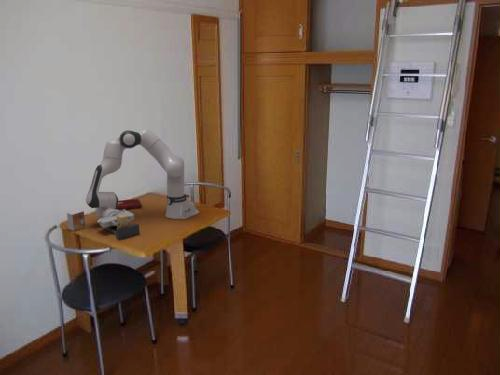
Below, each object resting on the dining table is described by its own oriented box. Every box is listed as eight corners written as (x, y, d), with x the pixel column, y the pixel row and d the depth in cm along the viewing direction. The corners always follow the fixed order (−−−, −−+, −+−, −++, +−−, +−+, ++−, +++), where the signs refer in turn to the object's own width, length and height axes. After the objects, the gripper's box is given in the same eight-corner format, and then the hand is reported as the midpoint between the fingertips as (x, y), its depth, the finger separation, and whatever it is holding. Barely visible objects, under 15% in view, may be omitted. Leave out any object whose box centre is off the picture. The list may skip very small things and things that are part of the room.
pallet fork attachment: (120, 223, 263) (119, 214, 262) (139, 234, 247) (139, 224, 246) (100, 228, 255) (99, 218, 253) (119, 240, 239) (118, 230, 237)
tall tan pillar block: (124, 229, 251) (123, 214, 248) (128, 231, 248) (127, 216, 245) (117, 231, 248) (116, 215, 245) (121, 233, 245) (120, 217, 242)
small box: (73, 231, 249) (72, 214, 246) (68, 229, 252) (66, 212, 249) (85, 227, 255) (84, 211, 252) (80, 225, 259) (78, 209, 256)
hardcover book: (142, 209, 290) (142, 203, 289) (110, 212, 282) (110, 206, 281) (139, 203, 301) (139, 198, 300) (108, 206, 293) (108, 201, 291)
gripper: (95, 216, 247) (105, 222, 238) (127, 208, 261) (138, 214, 251) (96, 226, 249) (106, 233, 240) (127, 218, 263) (138, 224, 253)
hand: (123, 223), depth 246 cm, fingers closed on tall tan pillar block, 4 cm apart
